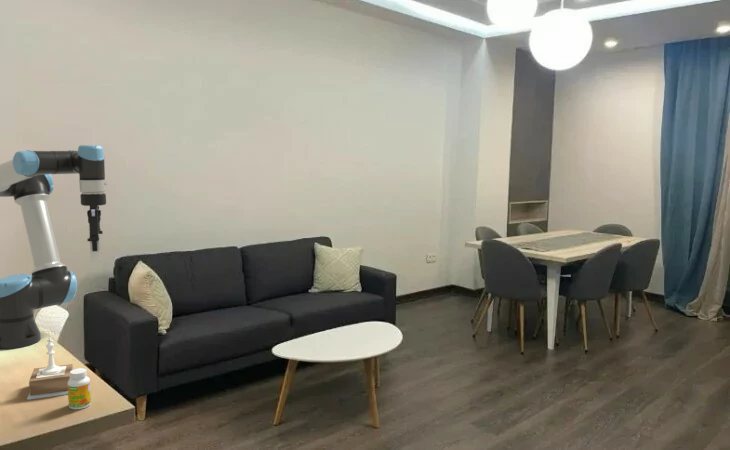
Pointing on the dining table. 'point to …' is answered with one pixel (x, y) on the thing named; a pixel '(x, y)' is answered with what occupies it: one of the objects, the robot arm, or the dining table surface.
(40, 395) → the pale blue board
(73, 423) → the dining table surface
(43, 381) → the walnut plinth
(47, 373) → the chess piece
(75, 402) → the supplement bottle
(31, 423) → the dining table surface
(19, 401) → the dining table surface
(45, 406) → the dining table surface
